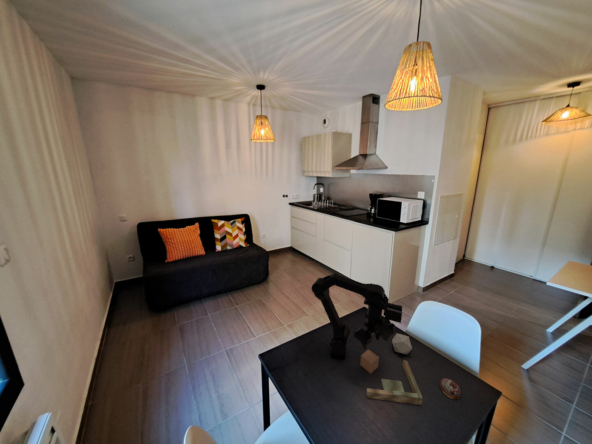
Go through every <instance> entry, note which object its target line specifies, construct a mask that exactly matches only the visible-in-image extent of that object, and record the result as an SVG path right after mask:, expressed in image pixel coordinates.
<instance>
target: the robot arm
mask: <svg viewBox="0 0 592 444" xmlns="http://www.w3.org/2000/svg"><path fill="white" fill-rule="evenodd" d="M334 286H335V287H338V288H342V289H345V290H347V291H350V292H352V293H355V294H358V295H360V296H361V297H363V298H364V300H363V304H364V305H366V306H367V313H366V314H364V317H365V319H366V322H365V321H364V323H363V324H364V326H365V327H366V328H367V329H364V328H362V327H359V328H358V329H357V330H355V331H354V332H353V333H354V334H353V337H354V339H356V340H358V341H359V342H360V344H361V345H362V348H363V350H364V351H367V350H368V345H369V344H371V342H372V339H373V337H372V335H373V334H374V335H375V336H374V337H375V340H377V341H379V339H380V338H381V339H382V340H384V342H388V341H389V340H390V339H391V338H392V337H394V334H396V325H395V324H394V323H393V322H395V323H399V324H402V317H403V306H402V304H401V305H400V304H395V303H391V302H389V300H390V299H389V297H388V296H387V295H386V293H385V292H386V291H385V288H384V287H383V286H382V285H380V284H377V283H370V282H369V283H364V282H359V281H357V280H355V279H352V278H348V277H346V276H342V275H340V274H338V273H336V272H334V273H332V274H329V275H326V276H324V277H318V278H317V279H316V280H315V282H314V283H312V285H311V291H312V293H313V294H314V296H315V297H316V298H317V299H318V300H320V302H321V304H322V307H323V309H324V312H325V313H326V316H327V318H328V320H329V322H330V324H331V327H332V337H331V340H330V342H329V346H330V358H331V359H334V360H335V359H336V360H345V357H346V354H347V345H348V342H349V338H350V337H351V332H352V331H351V329H350V328H349V324H348V323H346V324H345V323H343V322H342V320H341V317H340V316H339V314H338V311H337V309H336V307H335V304H334V302H333V300H332V298H331V296H330V295H331V294H330V288H331V287H334ZM391 321H392V322H391Z"/></svg>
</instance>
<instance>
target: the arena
mask: <svg viewBox="0 0 592 444" xmlns="http://www.w3.org/2000/svg"><path fill="white" fill-rule="evenodd" d="M402 367H403V370H404V374H405V375H406V378H407V381H408V383H409V386H410V389H411V391H412V392H408V391H407V392H406V391H405V389H404V386H403V383H402V381H401V380H395V379H394V380H393V379H386V378H381V379H380V380H381V384H382V385H381V386H382V388H383V389H376V388H369V387H366V398H367V399H374V400H381V401H387V402H388V401H389V402H395V403H396V402H397V403H404V404H410V405H419V406H422V403H423V396H422V393H421V391H420V389H419V386H418V383H417V381H416V378H415V376H414V374H413V372H412V369H411V366H410V364H409V362H408V360H406V359H405V360H404V359H403V363H402Z"/></svg>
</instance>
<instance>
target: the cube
mask: <svg viewBox="0 0 592 444" xmlns="http://www.w3.org/2000/svg"><path fill="white" fill-rule="evenodd" d="M379 359H380V357H379V356H378V355H376V354H375V352H373V351H371V350H370V349H368V348H367V349H366V350H365V352H363V353H362V354H361V355H360V364H359V365H360V366H361V367H362V368H363V369H365V370H366V371H367V372H368V373H369V374H372V373H374V371H376V369H377V368H379V362H380V360H379Z"/></svg>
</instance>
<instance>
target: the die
mask: <svg viewBox="0 0 592 444" xmlns="http://www.w3.org/2000/svg"><path fill="white" fill-rule="evenodd" d="M391 342H392V346H393V349H394V351H395V352H397V353H399V354H400V353H401V354H404V355H408V354H409V353H410V352H411V351H412V350H413V347H412V344H411V340H410V336H409V335H408V336H407V335H405V334H401V333H395V335H393V338H392V341H391Z"/></svg>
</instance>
